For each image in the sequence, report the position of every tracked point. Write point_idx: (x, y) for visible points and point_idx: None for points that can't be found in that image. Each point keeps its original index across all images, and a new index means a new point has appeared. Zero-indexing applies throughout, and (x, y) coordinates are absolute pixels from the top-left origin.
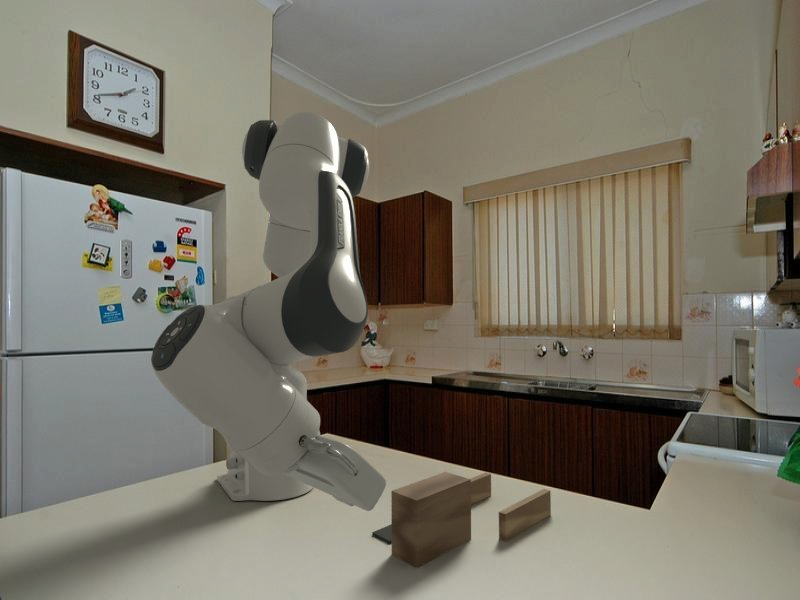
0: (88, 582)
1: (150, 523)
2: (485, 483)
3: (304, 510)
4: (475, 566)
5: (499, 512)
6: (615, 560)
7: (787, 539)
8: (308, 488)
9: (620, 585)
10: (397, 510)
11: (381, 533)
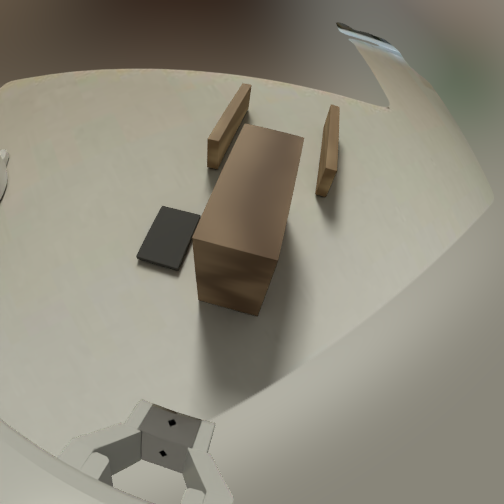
0: None
1: None
2: (247, 98)
3: (12, 236)
4: (324, 267)
5: (326, 168)
6: (421, 194)
7: (463, 136)
8: (2, 187)
9: (444, 234)
10: (212, 264)
11: (152, 253)
